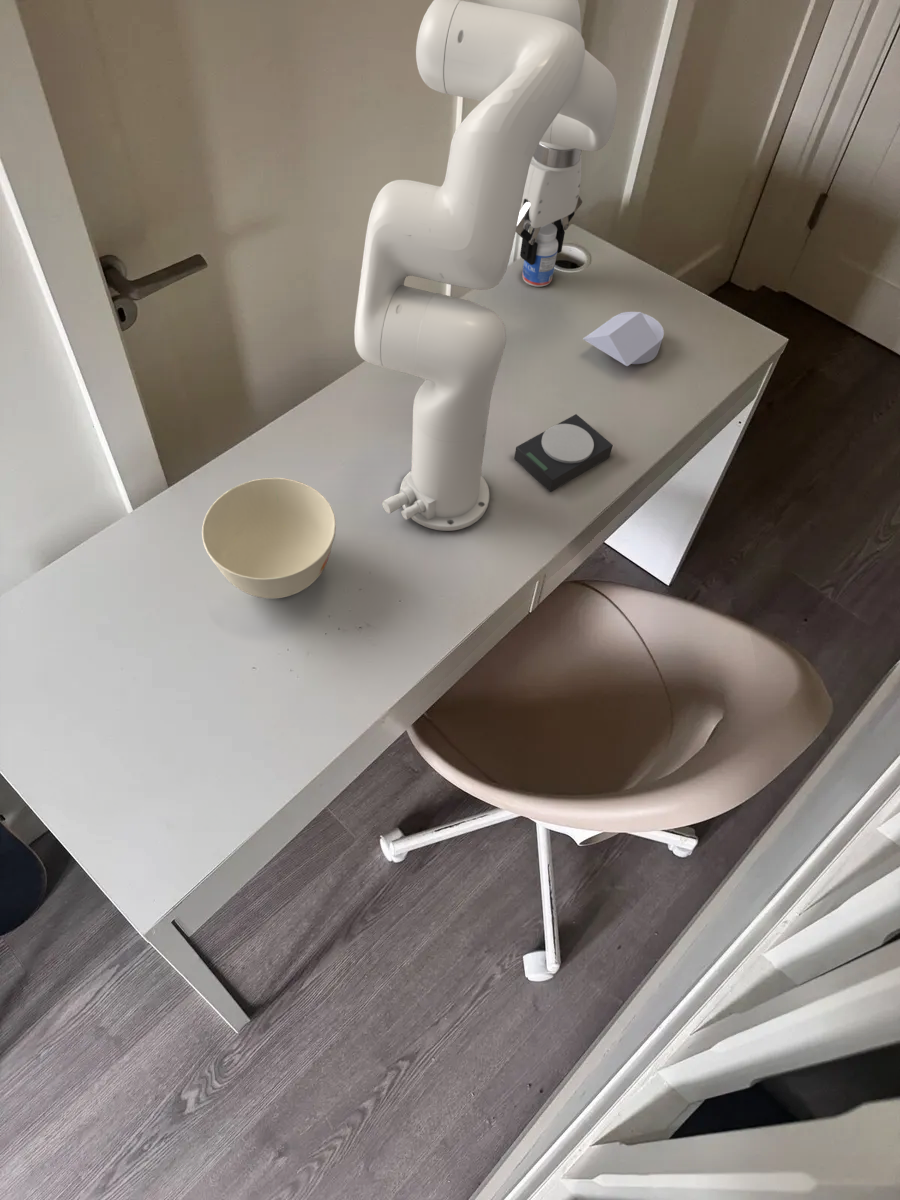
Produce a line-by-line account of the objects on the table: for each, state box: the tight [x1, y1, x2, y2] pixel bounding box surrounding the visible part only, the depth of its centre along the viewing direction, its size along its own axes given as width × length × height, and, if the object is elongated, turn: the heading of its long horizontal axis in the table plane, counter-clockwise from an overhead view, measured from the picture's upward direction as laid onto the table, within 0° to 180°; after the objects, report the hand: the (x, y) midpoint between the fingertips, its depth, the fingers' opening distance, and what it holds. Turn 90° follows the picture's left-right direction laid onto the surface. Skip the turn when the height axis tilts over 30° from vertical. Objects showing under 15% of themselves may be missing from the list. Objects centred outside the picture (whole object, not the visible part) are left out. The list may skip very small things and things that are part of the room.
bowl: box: [201, 477, 337, 599], centre depth 108 cm, size 16×16×10 cm
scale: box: [513, 413, 614, 493], centre depth 126 cm, size 12×8×3 cm, turn 128°
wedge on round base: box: [582, 311, 665, 367], centre depth 139 cm, size 9×7×13 cm
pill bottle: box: [521, 222, 558, 288], centre depth 148 cm, size 6×5×10 cm
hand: (540, 253), depth 148 cm, fingers closed on pill bottle, 5 cm apart
